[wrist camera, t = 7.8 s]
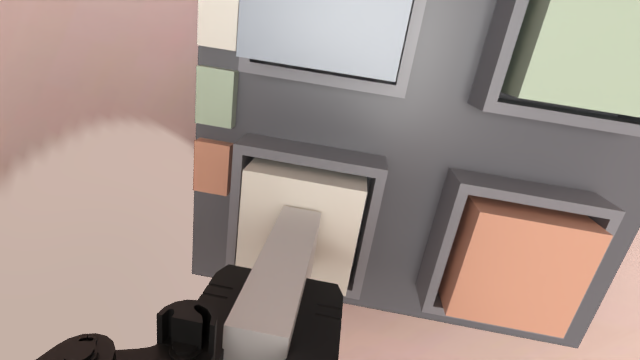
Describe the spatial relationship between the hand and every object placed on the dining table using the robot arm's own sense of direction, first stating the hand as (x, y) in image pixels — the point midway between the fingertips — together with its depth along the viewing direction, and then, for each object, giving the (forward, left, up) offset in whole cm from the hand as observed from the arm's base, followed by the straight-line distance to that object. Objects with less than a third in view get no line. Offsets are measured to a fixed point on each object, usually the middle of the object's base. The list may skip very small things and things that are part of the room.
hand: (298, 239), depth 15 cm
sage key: (+9, +9, -3) cm, 13 cm away
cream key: (0, 0, -3) cm, 3 cm away
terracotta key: (+9, 0, -3) cm, 9 cm away
